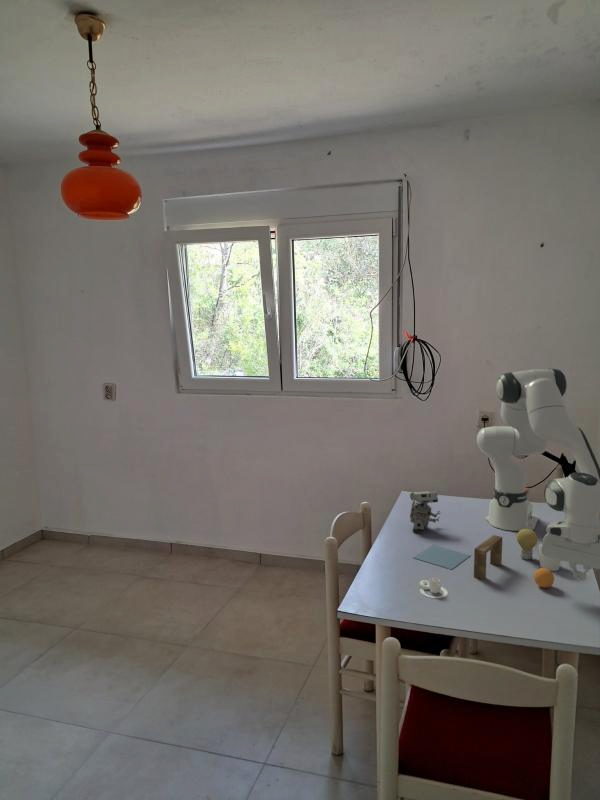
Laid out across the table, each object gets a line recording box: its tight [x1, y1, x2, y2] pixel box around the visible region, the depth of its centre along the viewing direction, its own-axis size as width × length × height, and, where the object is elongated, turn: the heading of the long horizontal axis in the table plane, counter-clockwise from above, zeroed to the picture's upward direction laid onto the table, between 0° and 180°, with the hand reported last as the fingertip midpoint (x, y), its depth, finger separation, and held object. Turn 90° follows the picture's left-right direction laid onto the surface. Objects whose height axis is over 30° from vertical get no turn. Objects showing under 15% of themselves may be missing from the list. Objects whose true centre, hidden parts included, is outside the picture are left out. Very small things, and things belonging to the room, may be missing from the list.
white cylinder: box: [538, 542, 561, 572], centre depth 173 cm, size 7×7×7 cm
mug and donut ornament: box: [419, 577, 449, 599], centre depth 159 cm, size 9×8×4 cm
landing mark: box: [413, 544, 471, 571], centre depth 182 cm, size 14×14×1 cm
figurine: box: [409, 490, 441, 534], centre depth 207 cm, size 9×12×15 cm
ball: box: [533, 567, 555, 589], centre depth 160 cm, size 6×6×6 cm
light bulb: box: [516, 529, 538, 561], centre depth 180 cm, size 6×6×10 cm
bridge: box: [473, 534, 503, 581], centre depth 171 cm, size 3×14×9 cm, turn 138°
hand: (579, 578), depth 153 cm, fingers closed
